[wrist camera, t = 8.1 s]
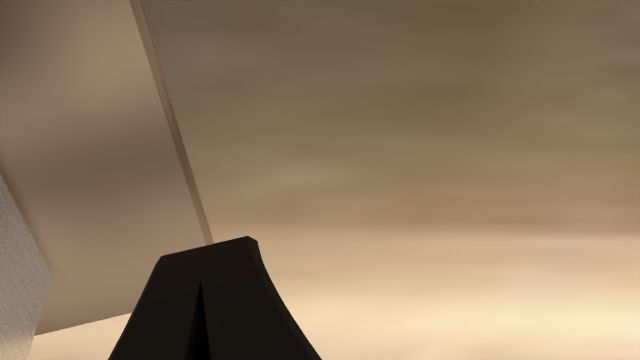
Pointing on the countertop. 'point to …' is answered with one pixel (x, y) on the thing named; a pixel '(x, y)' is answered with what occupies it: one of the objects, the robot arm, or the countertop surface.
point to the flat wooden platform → (92, 153)
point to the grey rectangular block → (19, 281)
